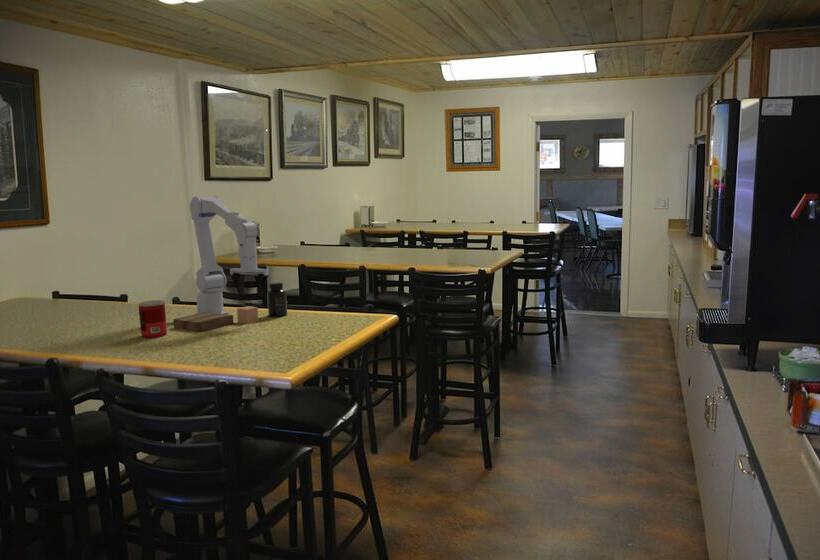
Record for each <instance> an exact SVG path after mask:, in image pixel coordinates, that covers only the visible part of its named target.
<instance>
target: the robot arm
mask: <svg viewBox="0 0 820 560" xmlns="http://www.w3.org/2000/svg"><path fill="white" fill-rule="evenodd" d="M188 206H189V210H190V216H191V219H192V221H193V225H194V231H195V236H196V241H197V247H198V252H199V257H200V263H201V267H199V269H198V270H197V271H196V279H195V280H196V281H195V284H196V287H197V289H198V290H199V292H198V293H197V296H196V306H197V307H196V308H197V313H195V314H199V313H203V312H209V313H218V314H227V315H228V314H229V311H224V301H223V300H224V299H223V291H224V290H225V289H224V288H225V287H226V286H227V282H228V281H227V277H226V275H225V272H224V269H223V268H222V266H220V265H219V264H217V260H216V256H215V255H216V254H215V249H214V243H213V238H212V233H211V227H210V222H211V220H213V219H215V217H216V216H217V215H218V216H219V217H220V218H222V219H223V220H224V223H225V225H227V227H228V228H230V229H231V230H232V231H234V235H235V237H236V239H237V244H238V245H239V258H240V259H239V261H240V267H239V268H238V267H234V268H233V267H232V268H229V275H230V278H231V280H232V282H233V283H234V284H235V288H236V289H237V293H238V295H239V296H242V295H244V294H245V285H244V283H245V276H247V275H248V276H249V275H253V277H254V280H255V284H256V294H257V296H263V294H264V288H265V285H266V282H267V281H268V279H269V275H270V270H269V269H268V268H258V255H257V254H258V252H257V237H258V236H259V234H260V228H259V225H258V224H257V222H256V221H254V220H252V221H250V220H247V218H245V217H243V215H241V214H240V212H239V211H237V210H236V211H231V210H230V209H229V208H228V207H227V206H226V205H225V204H224V203H223V201H222V199H221V198H220V197H219V196H218V195H213V196H210V195H209V196H193V197H192V198H191V200H190V202H189V205H188Z"/></svg>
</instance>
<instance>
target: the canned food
mask: <svg viewBox="0 0 820 560" xmlns="http://www.w3.org/2000/svg"><path fill="white" fill-rule="evenodd" d="M138 314H139V325H140V335H141V337H142V338H143V337H144V339H155V338H156V339H157V338H160V337H164V336H166V335H167V333H168V330H167V317H166V303H165V301H164V300H161V299H160V300H159V299H156V300H155V299H154V300H146V301H141V302H138Z"/></svg>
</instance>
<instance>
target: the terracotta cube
mask: <svg viewBox="0 0 820 560" xmlns="http://www.w3.org/2000/svg"><path fill="white" fill-rule="evenodd" d="M236 313H237V314H236V317H237V323H242V324H251V323H255V322H259V311H258V306H249V305H247V306H242V307H238V308H236Z"/></svg>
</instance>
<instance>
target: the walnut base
mask: <svg viewBox="0 0 820 560" xmlns="http://www.w3.org/2000/svg"><path fill="white" fill-rule="evenodd" d="M172 321H173V322H172V323H173V328H174V329H180V330H186V331H187V330H189V331H194V332H205V331H209V330H214V329H217V328H222V327H225V326H230V325H233V324H234V315H233V314H228V313H227V314H218V313H209V312H203V313H199V314H196V313H195V314H190V315H187V316H186V315H185V316H180V317H178V318H172Z"/></svg>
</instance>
